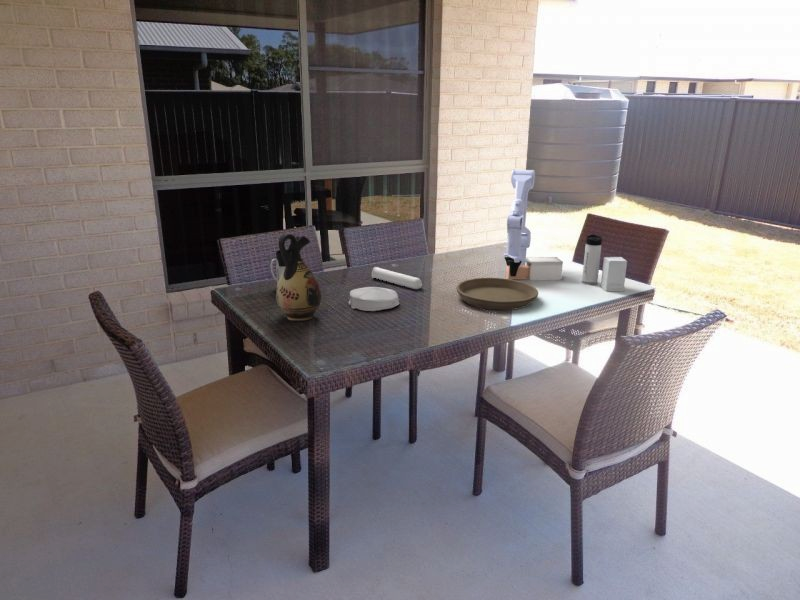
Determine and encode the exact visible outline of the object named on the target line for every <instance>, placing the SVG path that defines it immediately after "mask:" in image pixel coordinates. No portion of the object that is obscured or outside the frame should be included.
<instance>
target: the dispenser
mask: <svg viewBox="0 0 800 600" xmlns="http://www.w3.org/2000/svg"><path fill="white" fill-rule="evenodd" d="M524 261H525V262H526V264H525V265H529V266H530V275H529V279H530V280H529V279H528V280H529V281H560V280H561V281H562V276H563V275H562V274H563V267H564V266H563V263H564V261H562V260H561V259H560V258H559V257H558V256H549V257H548V256H547V257H546V256H545V257H544V256H538V257H535V256H534V257H533V256H532V257H531V256H529V257H527V256H526V258H524Z"/></svg>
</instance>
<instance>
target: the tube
mask: <svg viewBox="0 0 800 600" xmlns="http://www.w3.org/2000/svg"><path fill="white" fill-rule="evenodd" d="M371 278H372V279H374V278H376V279H375V280H378V279H379V280H380V281H382V280H383V281H382V282H386V281H387V282H386V283H390V284H393V283H394V285H398V286H401V287H404V286H405V287H404V288H409V289H412V290H419V289H420V288H421V287H422V286H423V283H422V280H421V279H420V278H419V277H416V276H412V275H408V274H404V273H401V272H395V271H392V270H388V269H385V268H381V267H378V266H375V267H373V268H372V270H371ZM379 280H378V281H379Z"/></svg>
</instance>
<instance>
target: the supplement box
mask: <svg viewBox="0 0 800 600" xmlns="http://www.w3.org/2000/svg"><path fill="white" fill-rule="evenodd" d="M627 266H628V261H627V260H626V259H625V258H623V257H622V256H603V261H602V271H601V279H600V287H601V288H602V289H603V290H604V291H606V292H624V291H625V282H626V276H627V275H626V273H627Z"/></svg>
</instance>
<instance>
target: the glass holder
mask: <svg viewBox="0 0 800 600" xmlns="http://www.w3.org/2000/svg"><path fill="white" fill-rule="evenodd" d="M287 250H288V249H286V251H287ZM287 254H288V257H289V259H290V256H291V253H289V252H287ZM274 261H275V263H276V264H275V267H276V268H275V269H276V271H275V272H276V276H275V273H274V269H273V263H274ZM284 269H285V262H284V261H283V257H282V255H281V252H280V250H276V251H275V258H272V260H271V261H270V271H271V275H272V278H273V279H274V280H276V283H277V284H278V281H279V279H280V276H281V274H282V273H283V271H284Z"/></svg>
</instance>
